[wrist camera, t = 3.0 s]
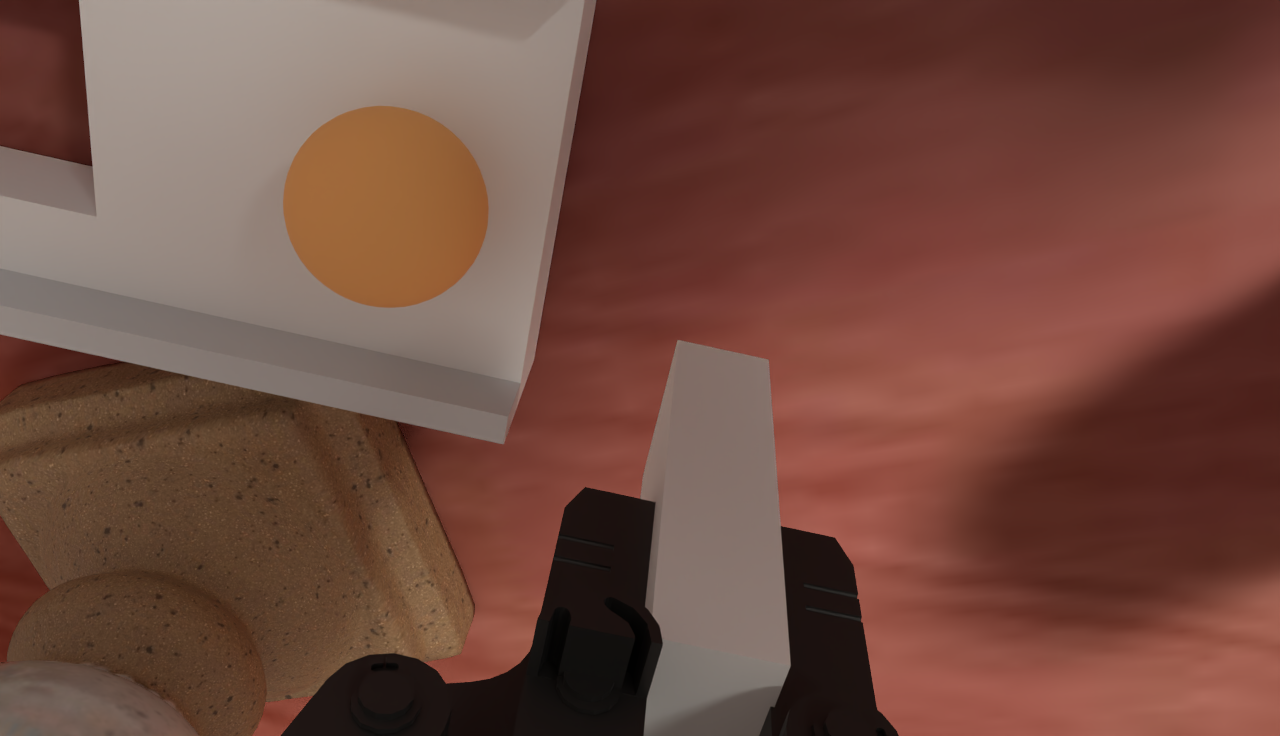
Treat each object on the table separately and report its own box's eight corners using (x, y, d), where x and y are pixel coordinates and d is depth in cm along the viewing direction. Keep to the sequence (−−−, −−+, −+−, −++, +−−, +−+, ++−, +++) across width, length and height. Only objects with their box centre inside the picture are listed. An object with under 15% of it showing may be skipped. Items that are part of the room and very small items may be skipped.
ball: (329, 63, 21) (248, 119, 17) (518, 107, 21) (474, 170, 18) (322, 237, 23) (247, 318, 20) (494, 275, 23) (450, 362, 20)
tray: (-236, -273, 21) (-458, -285, 17) (609, -76, 21) (580, -44, 18) (-135, 212, 27) (-284, 285, 23) (534, 359, 27) (499, 456, 23)
